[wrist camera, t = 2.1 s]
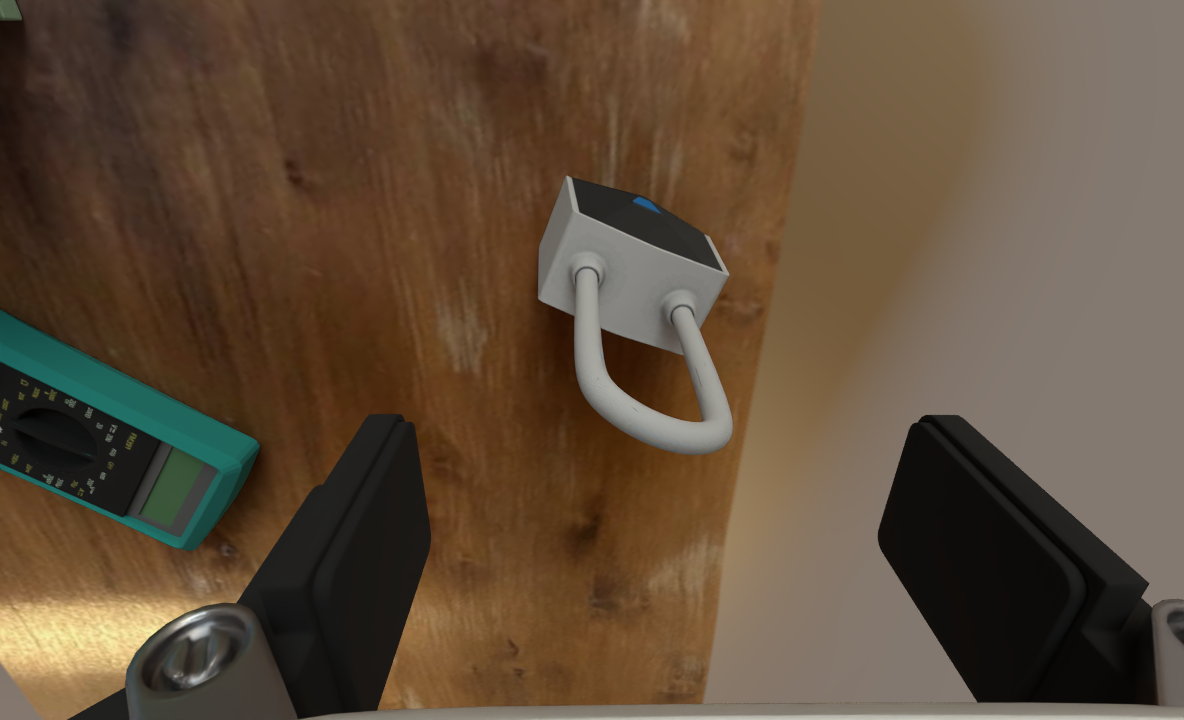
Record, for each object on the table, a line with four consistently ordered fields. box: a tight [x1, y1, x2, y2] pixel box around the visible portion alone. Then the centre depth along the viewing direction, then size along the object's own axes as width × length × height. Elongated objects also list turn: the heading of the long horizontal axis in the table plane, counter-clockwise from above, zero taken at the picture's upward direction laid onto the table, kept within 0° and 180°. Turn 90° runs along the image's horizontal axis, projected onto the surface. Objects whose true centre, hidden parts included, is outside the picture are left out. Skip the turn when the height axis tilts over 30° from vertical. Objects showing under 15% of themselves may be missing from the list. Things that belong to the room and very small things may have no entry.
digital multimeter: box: [0, 310, 260, 551], centre depth 27 cm, size 7×15×3 cm, turn 54°
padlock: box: [538, 176, 733, 455], centre depth 18 cm, size 7×4×15 cm, turn 68°
